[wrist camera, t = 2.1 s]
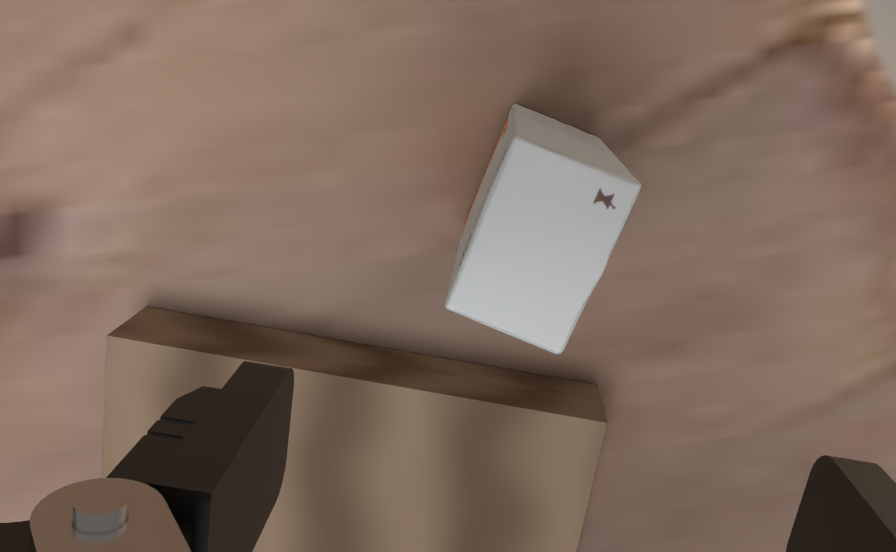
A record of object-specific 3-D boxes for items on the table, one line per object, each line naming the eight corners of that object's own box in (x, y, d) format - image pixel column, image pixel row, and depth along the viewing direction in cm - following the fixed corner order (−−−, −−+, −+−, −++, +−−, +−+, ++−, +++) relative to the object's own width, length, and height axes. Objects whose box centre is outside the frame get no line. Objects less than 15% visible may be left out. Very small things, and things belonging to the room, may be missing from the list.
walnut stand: (596, 384, 38) (607, 423, 34) (527, 685, 43) (529, 747, 39) (146, 306, 38) (106, 335, 34) (130, 613, 43) (94, 668, 40)
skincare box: (510, 100, 34) (515, 128, 23) (601, 137, 35) (650, 182, 23) (459, 226, 36) (439, 311, 25) (545, 261, 36) (565, 360, 25)
